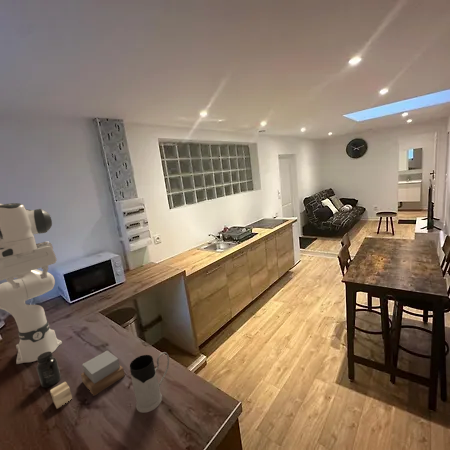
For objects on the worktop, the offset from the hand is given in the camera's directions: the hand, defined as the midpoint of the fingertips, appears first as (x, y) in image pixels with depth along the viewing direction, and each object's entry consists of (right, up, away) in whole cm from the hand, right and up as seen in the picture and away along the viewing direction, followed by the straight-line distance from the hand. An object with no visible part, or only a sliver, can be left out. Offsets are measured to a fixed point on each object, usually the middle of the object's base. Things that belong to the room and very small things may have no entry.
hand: (31, 283), depth 96 cm
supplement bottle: (+2, -42, +9) cm, 43 cm away
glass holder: (+49, -39, -6) cm, 62 cm away
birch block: (+13, -43, -2) cm, 45 cm away
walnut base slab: (+24, -40, +6) cm, 47 cm away
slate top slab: (+24, -36, +6) cm, 44 cm away
